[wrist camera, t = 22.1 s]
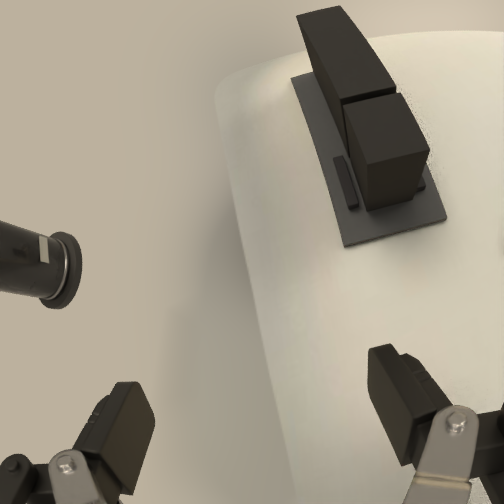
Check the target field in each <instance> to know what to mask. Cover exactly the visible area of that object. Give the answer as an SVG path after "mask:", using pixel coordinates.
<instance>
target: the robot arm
mask: <svg viewBox="0 0 504 504" xmlns="http://www.w3.org/2000/svg"><path fill="white" fill-rule="evenodd" d="M69 271H70V255H69V251H68V248H67V246H66V244H65V243H64V242H63V241H62V240H59V239H56V238H51V237H47V236H45V235H42V234H39V233H36V232H33V231H30V230H27V229H24V228H21V227H17V226H15V225H12V224H9V223H6V222H3V221H0V291H3V292H8V293H14V294H20V295H26V296H31V297H38V298H43V299H47V300H54V299H56V298H58V297H59V296H60V295H61V293H62V292H63V290H64V288H65V286H66V284H67V280H68V277H69ZM367 384H368V392H369V396H370V399H371V401H372V403H373V405H374V408H375V410H376V412H377V414H378V416H379V418H380V420H381V423H382V425H383V427H384V429H385V431H386V433H387V436H388V438H389V440H390V442H391V444H392V447H393V449H394V451H395V453H396V456H397V458H398V460H399V462H400V465H401V467H402V466H405V465H407V464H410V463H412V464H413V466H414V468H415V470H416V473H415V475H414V477H413V480H412V482H411V485H410V487H409V489H408V492H407V494H406V496H405V499H404V501H403V503H402V504H468V500H469V497H470V493H471V487H472V483H471V482H469V479H472V478H477V477H479V478H480V480H481V482H482V484H483V486H484V488H485V490H486V492H487V494H488V496H489V499H490V501H491V503H492V504H504V403H503V405H502V408H501V410H498V411H493V412H488V413H482V414H476V413H475V412H474V411H473V410H471V409H470V408H468V407H465V406H460V405H454V406H453V404H452V403H451V402H450V401H449V399H448V398H447V396H446V395H445V394H444V392H443V391H442V390H441V389H440V387H439V386H438V385H437V383H436V382H435V381H434V379H433V378H431V375H430V374H429V373H428V372H427V371H426V370H425V368H424V366H423V365H422V364H421V363H420V361H419V360H418V359H416V358H414V357H412V356H411V355H409V354H407V353H406V354H403V355H399V354H398V352H397V351H396V349H395V348H394V347H393V345H392V344H390V343H389V344H385V345H381V346H378V347H374V348H370V349H369V351H368V381H367ZM154 427H155V417H154V413H153V411H152V409H151V407H150V405H149V402H148V401H147V398H146V396H145V394H144V392H143V390H142V387H141V385H140V384H139V383H138V382H117V383H116V384H115V386H114V388H113V390H112V391H111V393H110V395H107V396H105V397H104V398H103V399H102V400H101V401H100V402H99V403H98V404H97V405H96V407H95V409H94V410H93V412H92V415H91V416H90V417H89V419H88V423H86V425H85V426H84V428H83V430H82V431H81V433H80V435H79V437H78V439H77V440H76V442H75V444H74V446H73V448H72V449H68V450H64V451H61V452H59V453H57V454H56V455H55V456H54V457H53V458H52V459H51V460H50V462H49V464H34V465H33V464H32V463H31V462H30V460H29V459H28V458H27V457H26V456H25V455H22V454H14V455H11V456H9V457H7V458H6V459H5V460H4V461H3V462H2V464H1V465H0V504H26V503H27V504H123V503H122V502H121V500H120V499H119V496H120V494H126V495H133V493H134V490H135V486H136V483H137V480H138V477H139V474H140V470H141V467H142V464H143V461H144V458H145V455H146V452H147V449H148V446H149V443H150V440H151V437H152V434H153V431H154Z"/></svg>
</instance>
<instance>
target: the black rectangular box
mask: <svg viewBox="0 0 504 504" xmlns="http://www.w3.org/2000/svg"><path fill="white" fill-rule="evenodd" d="M343 109H344V116H345V122H346V129H347V136H348V144H349V152H350V160H351V165H352V168H353V171H354V174H355V177H356V180H357V183H358V186H359V189H360V192H361V195H362V198H363V201H364V205H365V208H366V211H367V212H368V211H372V210H376V209H379V208H383V207H387V206H391V205H395V204H399V203H402V202H406V201H410V200H413V198H414V195H415V192H416V190H417V187H418V184H419V181H420V178H421V176H422V173H423V170H424V167H425V164H426V161H427V158H428V155H429V152H430V148H429V146H428V144H427V142H426V140H425V137H424V135H423V133H422V131H421V129H420V127H419V125H418V123H417V121H416V120H415V118H414V116H413V114H412V112H411V110H410V108H409V106H408V105H407V103H406V101H405V99H404V97H403V96H402V94H401V93H395V94H390V95H385V96H381V97H376V98H372V99H367V100H363V101H359V102H354V103H350V104H346V105H343Z"/></svg>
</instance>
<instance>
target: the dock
mask: <svg viewBox="0 0 504 504" xmlns="http://www.w3.org/2000/svg"><path fill="white" fill-rule="evenodd" d="M296 18H297V21H298V24H299V27H300V30H301V33H302V36H303V39H304V42H305V45H306V48H307V52H308V55H309V58H310V61H311V65H312V68H313V72H310V73H307V74H303V75H300V76H296V77H293V78H291V81H292V83H293V86H294V89H295V91H296V94H297V97H298V99H299V102H300V105H301V108H302V110H303V113H304V116H305V119H306V122H307V124H308V127H309V130H310V133H311V136H312V139H313V142H314V145H315V148H316V151H317V154H318V157H319V161H320V164H321V167H322V170H323V173H324V177H325V180H326V183H327V186H328V190H329V193H330V197H331V200H332V204H333V207H334V211H335V214H336V218H337V222H338V225H339V229H340V233H341V237H342V240H343V244H344V247H346V246H350V245H354V244H358V243H361V242H365V241H369V240H373V239H377V238H380V237H384V236H388V235H392V234H395V233H399V232H403V231H406V230H410V229H414V228H417V227H421V226H425V225H428V224H432V223H436V222H439V221H443V220H446V219H447V215H446V212H445V209H444V207H443V204H442V201H441V198H440V196H439V193H438V190H437V188H436V185H435V183H434V180H433V178H432V175H431V173H430V170H429V168H428V166H427V163H426V164H425V167H424V170H423V173H422V176H421V178H420V181H419V184H418V187H417V190H416V192H415V195H414V198H413V200H410V201H406V202H402V203H399V204H395V205H391V206H387V207H383V208H379V209H376V210H372V211H368V212H367V211H366V208H365V205H364V201H363V198H362V195H361V192H360V189H359V186H358V183H357V180H356V177H355V174H354V171H353V168H352V165H351V160H350V152H349V144H348V136H347V129H346V122H345V116H344V109H343V105H346V104H350V103H354V102H359V101H363V100H367V99H372V98H376V97H381V96H385V95H390V94H395V93H396V85H395V83H394V81H393V80H392V78H391V76H390V75H389V73H388V72H387V70H386V68H385V67H384V65H383V64H382V62H381V61H380V59H379V58H378V56H377V55H376V53H375V52H374V50H373V49H372V47H371V46H370V44H369V43H368V42H367V40H366V39H365V37H364V36H363V35H362V33H361V32H360V31H359V29H358V28H357V27H356V25H355V24H354V23H353V21H352V20H351V19H350V17H349V16H348V15H347V14H346V12H345V11H344V10H343V9H342V7H341V6H335V7H330V8H325V9H321V10H317V11H313V12H309V13H305V14H301V15H297V16H296Z"/></svg>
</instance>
